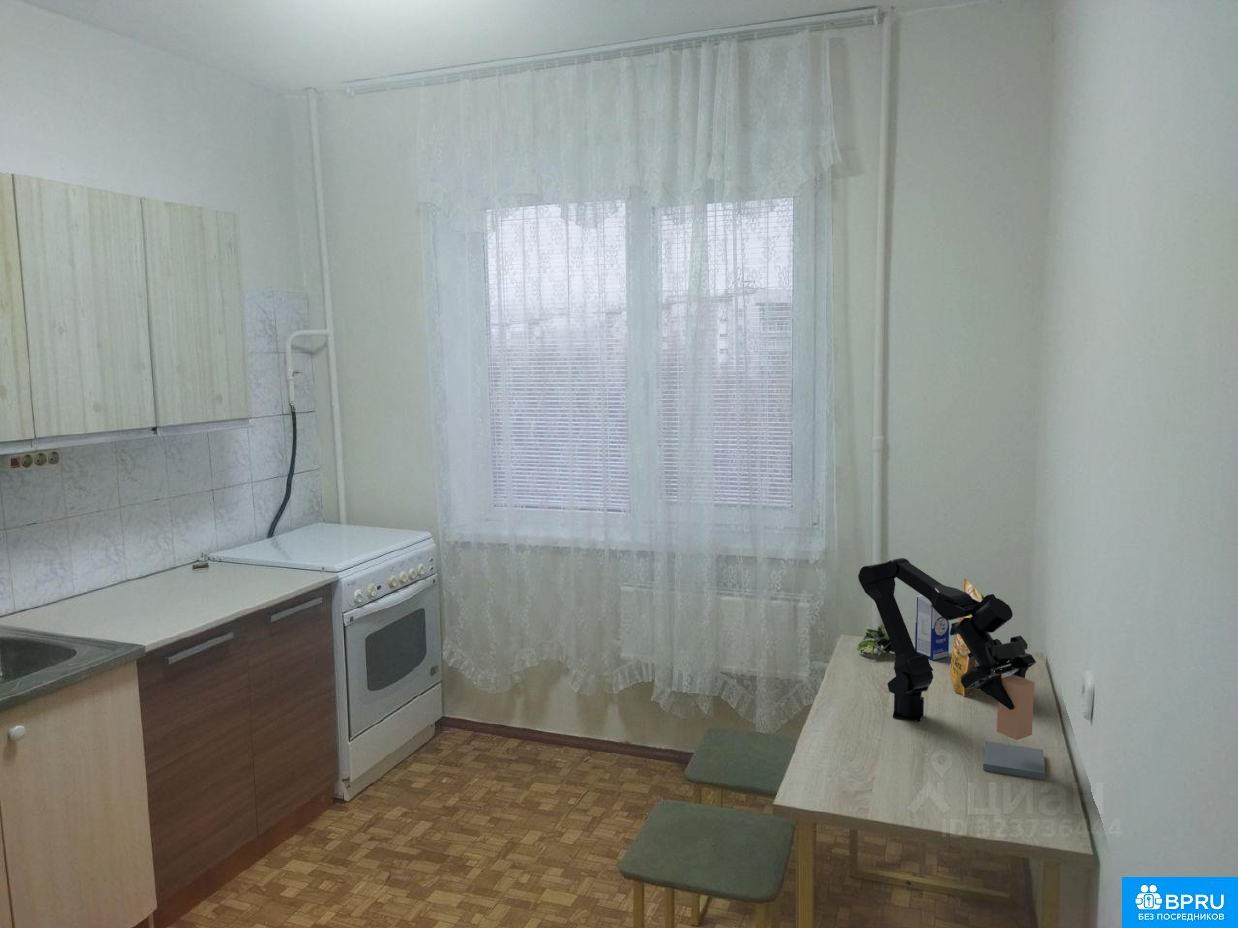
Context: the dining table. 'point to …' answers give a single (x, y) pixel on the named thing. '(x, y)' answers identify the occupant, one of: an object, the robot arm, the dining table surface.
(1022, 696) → the terracotta block
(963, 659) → the pancake mix bag
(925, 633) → the milk carton
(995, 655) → the robot arm
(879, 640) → the green leafy clump
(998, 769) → the slate board
